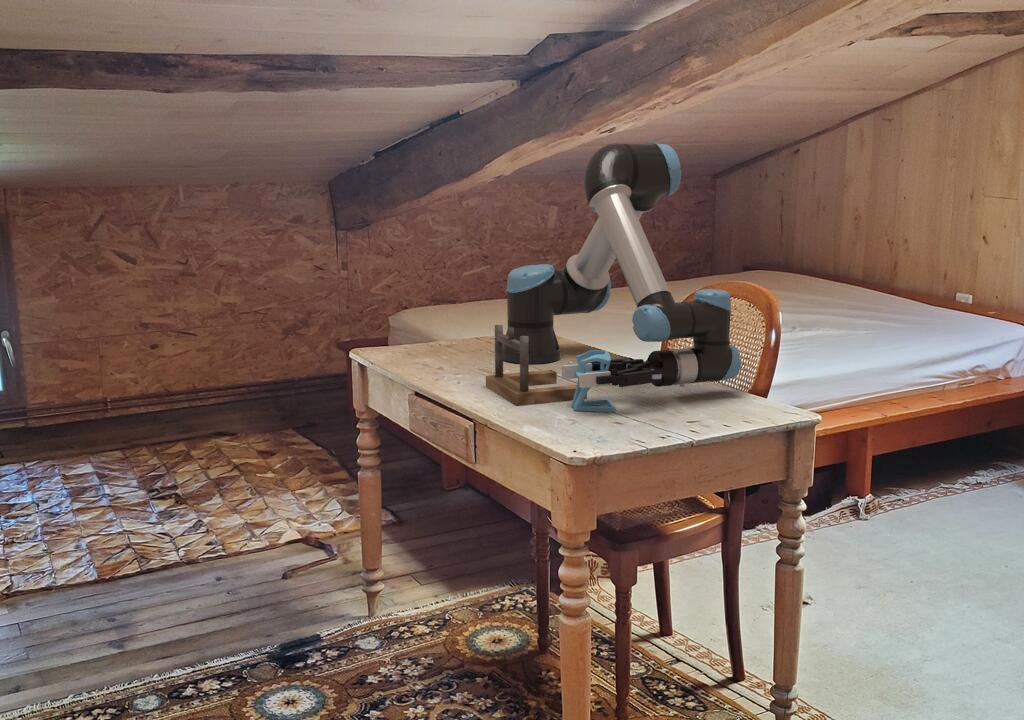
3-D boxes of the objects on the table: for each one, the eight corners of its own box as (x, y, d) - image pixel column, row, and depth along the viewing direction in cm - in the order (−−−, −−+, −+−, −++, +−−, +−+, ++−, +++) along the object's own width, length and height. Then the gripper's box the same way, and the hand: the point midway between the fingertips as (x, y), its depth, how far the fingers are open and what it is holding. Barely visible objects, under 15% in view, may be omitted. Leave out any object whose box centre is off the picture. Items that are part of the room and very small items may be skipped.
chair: (569, 404, 206) (569, 347, 203) (609, 403, 206) (610, 346, 204) (575, 413, 198) (575, 354, 196) (616, 412, 199) (617, 353, 196)
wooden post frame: (551, 380, 228) (551, 317, 225) (586, 398, 210) (587, 330, 207) (485, 386, 222) (485, 322, 219) (516, 405, 205) (516, 336, 202)
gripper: (696, 395, 199) (593, 406, 191) (646, 375, 217) (550, 384, 209) (697, 359, 197) (593, 368, 189) (647, 341, 216) (550, 349, 208)
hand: (571, 376), depth 199 cm, fingers closed on chair, 8 cm apart
